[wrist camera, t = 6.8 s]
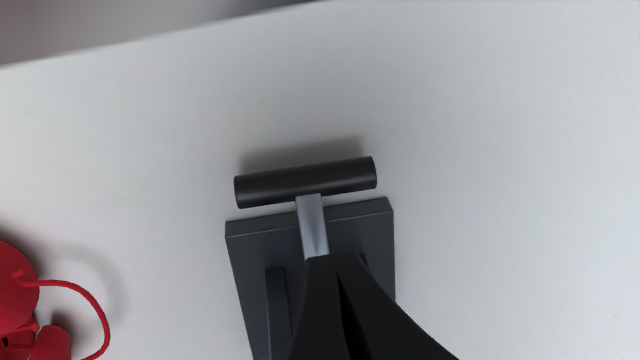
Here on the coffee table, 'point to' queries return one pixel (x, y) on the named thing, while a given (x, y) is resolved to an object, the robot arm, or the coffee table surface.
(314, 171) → the lever
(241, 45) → the coffee table surface
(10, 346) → the alarm clock
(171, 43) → the coffee table surface
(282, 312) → the bracket
